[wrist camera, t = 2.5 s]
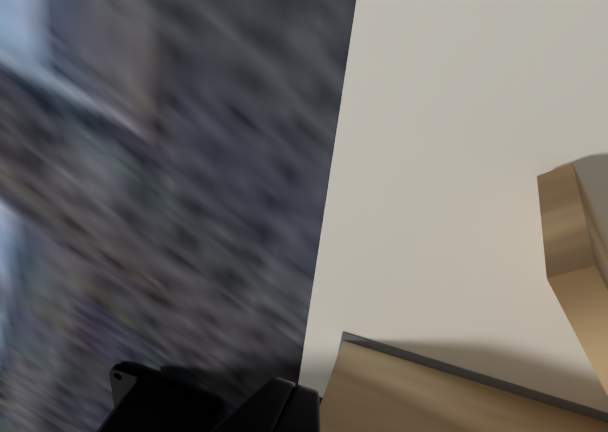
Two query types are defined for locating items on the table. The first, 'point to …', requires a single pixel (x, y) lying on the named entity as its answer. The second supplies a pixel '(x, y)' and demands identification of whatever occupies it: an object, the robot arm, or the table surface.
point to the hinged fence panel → (576, 261)
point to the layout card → (461, 191)
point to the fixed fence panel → (429, 401)
